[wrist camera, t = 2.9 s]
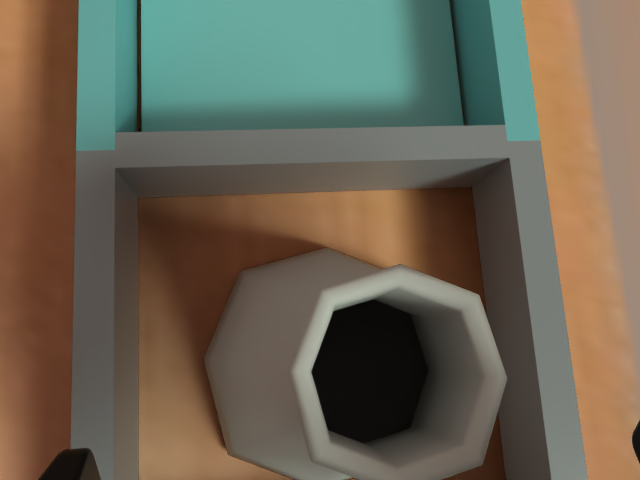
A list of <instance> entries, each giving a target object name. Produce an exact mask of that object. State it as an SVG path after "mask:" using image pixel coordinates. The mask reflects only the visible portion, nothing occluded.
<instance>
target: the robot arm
mask: <svg viewBox="0 0 640 480" xmlns="http://www.w3.org/2000/svg"><path fill="white" fill-rule="evenodd" d="M632 444H633V448H634V451H635V453H636V456H637V458H638V461H639V463H640V421H639V422H638V424H637V426H636V428H635V430H634V432H633V435H632ZM38 480H101V477H100V474H99V471H98V467H97V464H96V461H95V458H94V455H93V452H92V450H90V449H89V448H77V449H66V450H63V451H62V452H60V453H59V454H58V455H57V456H56V458H55V459H54V460H53V461H52V463H51V464H50V465H49V467H48V468H47V469H46V470H45V472H44V473H43V474H42V476H41V477H40V478H39V479H38Z"/></svg>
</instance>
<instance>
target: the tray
mask: <svg viewBox="0 0 640 480" xmlns="http://www.w3.org/2000/svg"><path fill="white" fill-rule="evenodd" d="M450 2H451V11H452V19H453V28H454V37H455V45H456V54H457V62H458V71H459V80H460V88H461V97H462V106H463V114H464V123H465V126H464V123H463V115H462V106H461V97H460V89H459V80H458V71H457V63H456V54H455V45H454V37H453V28H452V19H451V11H450ZM450 2H449V0H141V85H142V132H138V29H137V0H79V16H78V70H77V125H76V179H75V234H74V289H73V343H72V398H71V449H77V448H89V449H90V450H92V452H93V455H94V458H95V461H96V464H97V467H98V471H99V474H100V477H101V480H139V378H138V198H145V197H176V196H208V195H239V194H270V193H302V192H333V191H364V190H396V189H427V188H458V187H472V192H473V201H474V209H475V218H476V227H477V235H478V244H479V252H480V261H481V270H482V278H483V287H484V296H485V304H486V313H487V319H488V322H489V325H490V328H491V331H492V334H493V337H494V340H495V343H496V346H497V349H498V352H499V355H500V358H501V361H502V364H503V367H504V370H505V373H506V376H507V382H506V385H505V389H504V392H503V395H502V399H501V402H500V406H499V409H498V416H499V425H500V434H501V442H502V451H503V460H504V468H505V477H506V480H588V475H587V468H586V461H585V454H584V447H583V440H582V433H581V425H580V418H579V411H578V404H577V397H576V390H575V383H574V376H573V369H572V362H571V355H570V348H569V340H568V333H567V326H566V319H565V312H564V305H563V298H562V291H561V284H560V277H559V270H558V263H557V255H556V248H555V241H554V234H553V227H552V220H551V213H550V206H549V199H548V192H547V185H546V178H545V170H544V163H543V156H542V149H541V142H540V135H539V128H538V121H537V114H536V107H535V100H534V92H533V85H532V78H531V71H530V64H529V57H528V50H527V43H526V36H525V29H524V22H523V15H522V7H521V0H450Z"/></svg>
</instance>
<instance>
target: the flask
mask: <svg viewBox="0 0 640 480" xmlns="http://www.w3.org/2000/svg"><path fill="white" fill-rule="evenodd" d="M204 363H205V367H206V371H207V375H208V379H209V382H210V386H211V390H212V394H213V398H214V402H215V406H216V410H217V414H218V418H219V422H220V426H221V429H222V433H223V437H224V441H225V445H226V449H227V453H228V455H230V456H232V457H235V458H238V459H240V460H243V461H246V462H248V463H251V464H254V465H256V466H259V467H262V468H264V469H267V470H270V471H272V472H275V473H278V474H280V475H283V476H286V477H288V478H291V479H294V480H347V479H350V478H355V479H358V480H442V479H445V478H448V477H450V476H453V475H456V474H459V473H462V472H465V471H468V470H470V469H473V468H476V467H479V466H482V465H483V462H484V458H485V455H486V451H487V448H488V444H489V441H490V437H491V434H492V430H493V427H494V423H495V420H496V416H497V413H498V409H499V406H500V402H501V399H502V395H503V392H504V389H505V385H506V382H507V376H506V373H505V370H504V367H503V364H502V361H501V358H500V355H499V352H498V349H497V346H496V343H495V340H494V337H493V334H492V331H491V328H490V325H489V322H488V319H487V317H486V314H485V311H484V308H483V305H482V302H481V299H480V296H479V294H476V293H474V292H471V291H468V290H466V289H463V288H461V287H458V286H456V285H453V284H450V283H448V282H445V281H443V280H440V279H438V278H435V277H432V276H430V275H427V274H425V273H422V272H420V271H417V270H414V269H412V268H409V267H407V266H404V265H402V264H398V265H395V266H391V267H388V268H384V269H382V268H379V267H377V266H374V265H371V264H369V263H366V262H364V261H361V260H358V259H356V258H353V257H351V256H348V255H346V254H343V253H340V252H338V251H335V250H333V249H330V248H328V247H326V248H323V249H319V250H315V251H312V252H308V253H304V254H301V255H297V256H293V257H290V258H286V259H282V260H279V261H275V262H271V263H268V264H264V265H260V266H257V267H253V268H249V269H246V270H242V271H239V274H238V276H237V279H236V281H235V283H234V286H233V288H232V291H231V293H230V296H229V298H228V301H227V303H226V305H225V308H224V310H223V313H222V315H221V318H220V320H219V323H218V325H217V328H216V330H215V332H214V335H213V337H212V340H211V342H210V345H209V347H208V350H207V352H206V354H205V357H204Z"/></svg>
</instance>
